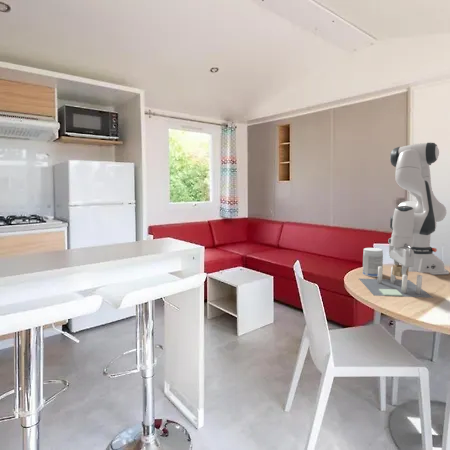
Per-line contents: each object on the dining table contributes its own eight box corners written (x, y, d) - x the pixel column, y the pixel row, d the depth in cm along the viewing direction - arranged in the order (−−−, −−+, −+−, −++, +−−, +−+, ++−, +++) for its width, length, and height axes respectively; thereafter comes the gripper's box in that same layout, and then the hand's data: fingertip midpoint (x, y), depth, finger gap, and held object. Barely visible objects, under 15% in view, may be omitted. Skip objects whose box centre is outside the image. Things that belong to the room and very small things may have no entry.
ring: (404, 273, 157) (404, 265, 156) (409, 276, 151) (410, 268, 150) (390, 272, 158) (391, 264, 157) (395, 276, 152) (396, 267, 151)
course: (408, 282, 168) (410, 264, 167) (433, 300, 142) (434, 279, 141) (358, 280, 171) (359, 263, 170) (373, 298, 146) (374, 277, 144)
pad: (396, 290, 151) (396, 289, 151) (402, 296, 144) (402, 294, 144) (378, 290, 153) (378, 288, 152) (384, 295, 145) (384, 294, 145)
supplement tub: (385, 277, 177) (387, 249, 176) (375, 280, 172) (376, 251, 170) (369, 273, 185) (370, 246, 184) (358, 275, 180) (359, 248, 178)
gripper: (419, 246, 142) (417, 278, 144) (400, 238, 162) (399, 266, 164) (403, 246, 143) (401, 278, 144) (387, 238, 163) (385, 266, 164)
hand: (400, 272), depth 154 cm, fingers closed on ring, 6 cm apart
